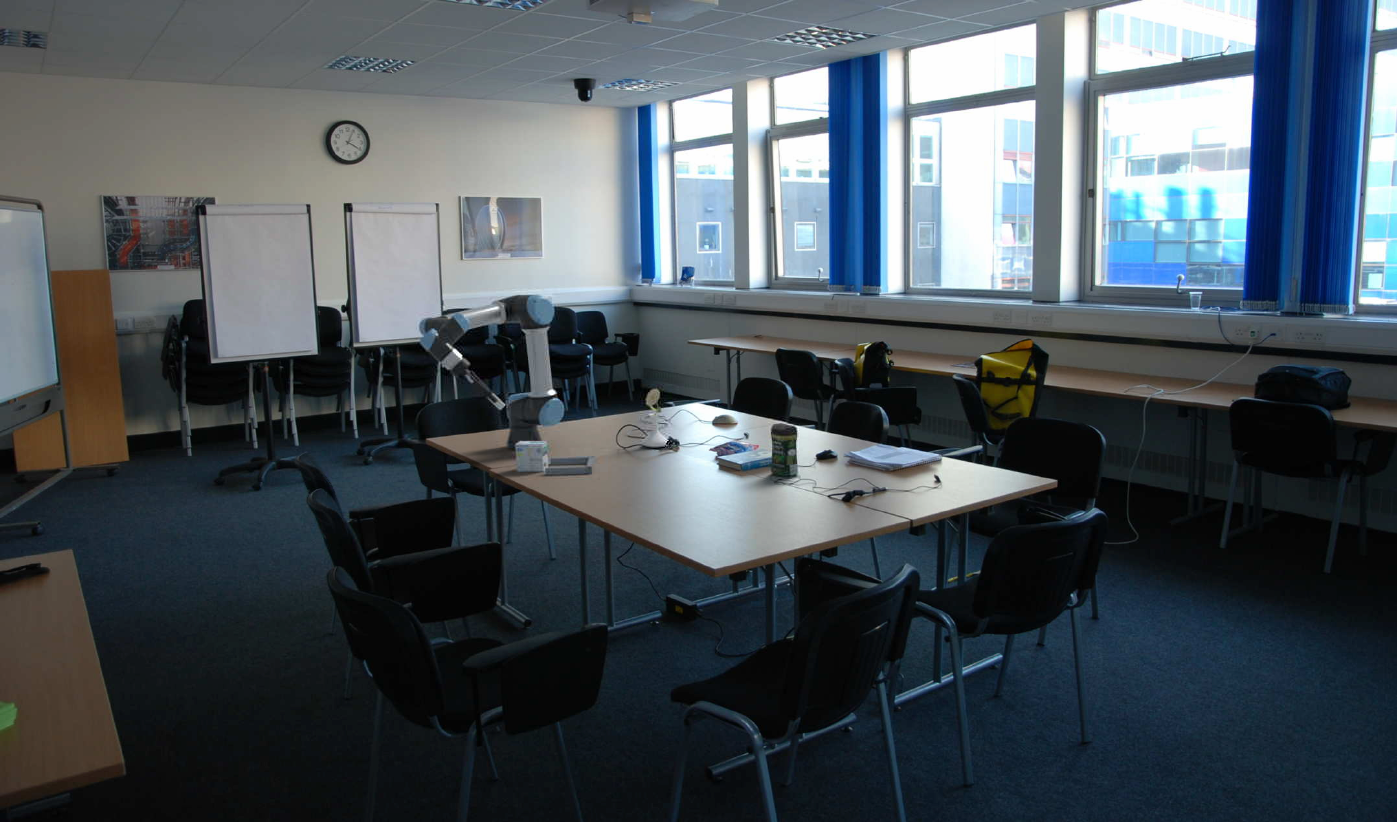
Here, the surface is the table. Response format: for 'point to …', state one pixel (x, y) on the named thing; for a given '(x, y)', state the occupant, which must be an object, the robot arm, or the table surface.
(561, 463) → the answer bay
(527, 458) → the light bulb box
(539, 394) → the robot arm
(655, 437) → the flower in vase
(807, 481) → the table surface
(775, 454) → the coffee jar
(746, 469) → the table surface
